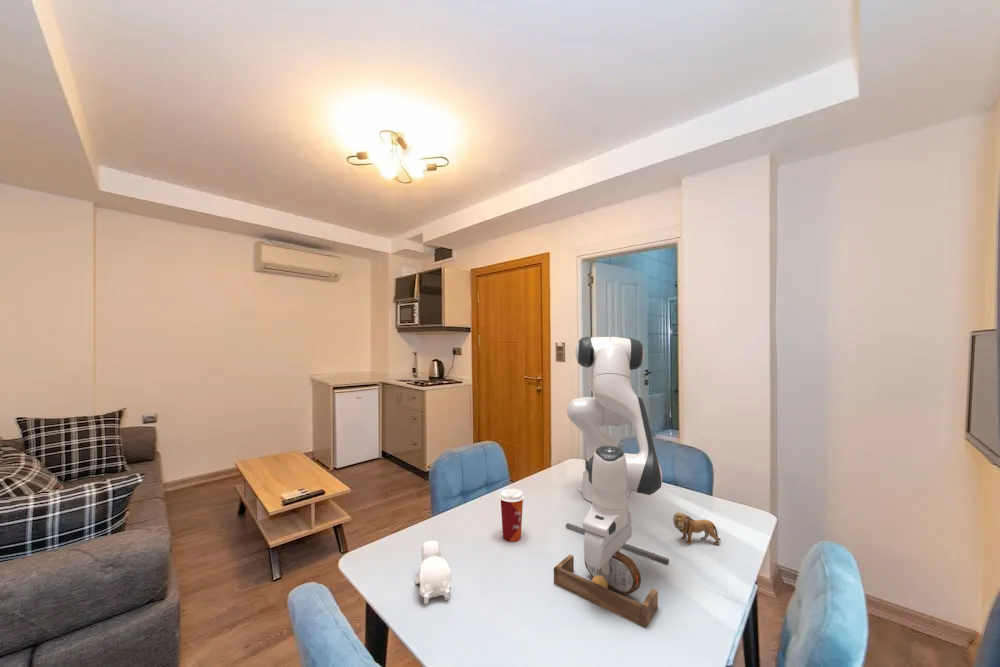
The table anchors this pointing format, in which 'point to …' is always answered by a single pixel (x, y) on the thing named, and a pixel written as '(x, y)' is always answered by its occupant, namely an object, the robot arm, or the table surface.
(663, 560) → the rail
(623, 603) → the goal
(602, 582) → the ball
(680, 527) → the lion figurine
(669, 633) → the table surface
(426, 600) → the white animal figurine
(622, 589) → the tin
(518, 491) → the paper cup
